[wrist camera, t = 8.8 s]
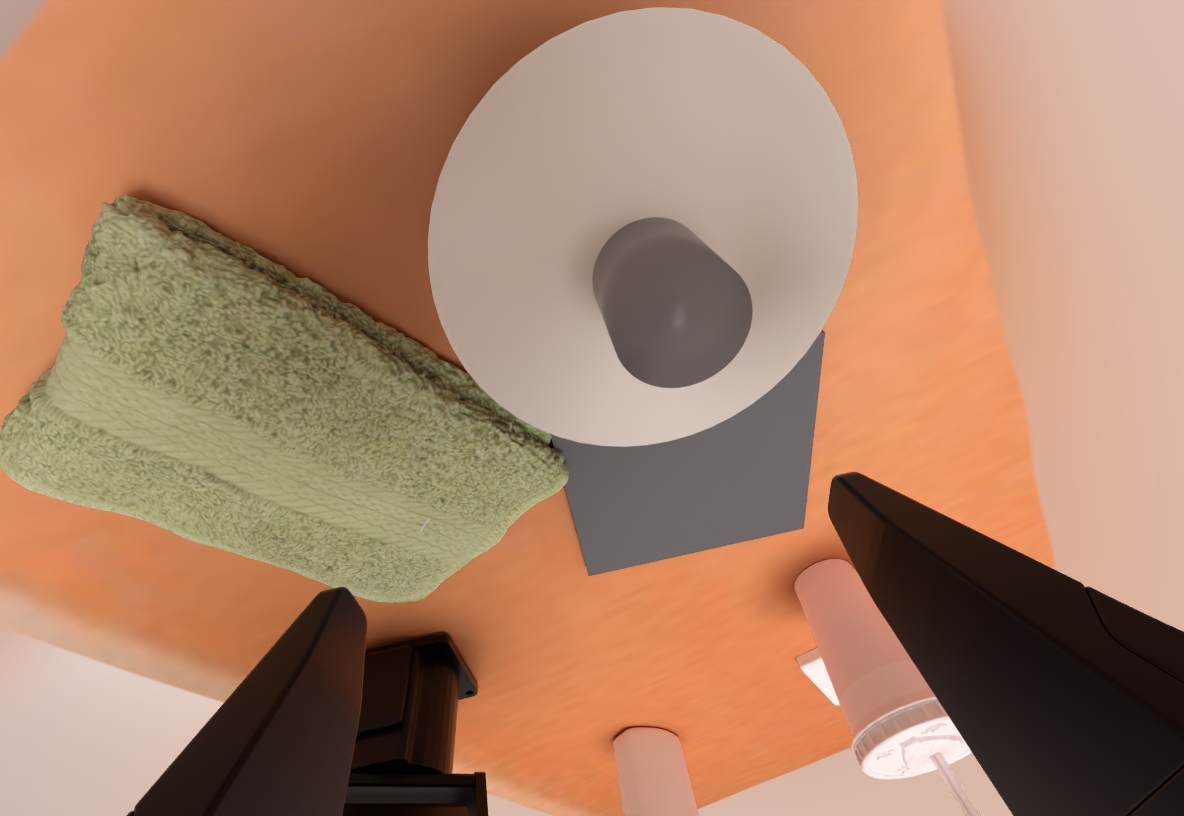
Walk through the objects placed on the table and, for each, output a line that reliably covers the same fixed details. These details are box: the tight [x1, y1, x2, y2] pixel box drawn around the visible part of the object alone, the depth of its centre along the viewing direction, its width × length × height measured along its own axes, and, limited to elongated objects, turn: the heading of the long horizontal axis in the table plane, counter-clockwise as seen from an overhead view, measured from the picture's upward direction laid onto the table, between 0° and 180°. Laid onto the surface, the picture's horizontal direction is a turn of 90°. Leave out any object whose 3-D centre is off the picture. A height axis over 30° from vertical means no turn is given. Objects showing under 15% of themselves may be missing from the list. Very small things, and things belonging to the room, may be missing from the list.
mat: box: [550, 330, 825, 576], centre depth 24 cm, size 12×12×1 cm
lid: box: [428, 7, 858, 447], centre depth 12 cm, size 11×11×4 cm
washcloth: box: [0, 194, 569, 603], centre depth 20 cm, size 13×18×3 cm
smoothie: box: [794, 559, 981, 816], centre depth 26 cm, size 6×6×14 cm
